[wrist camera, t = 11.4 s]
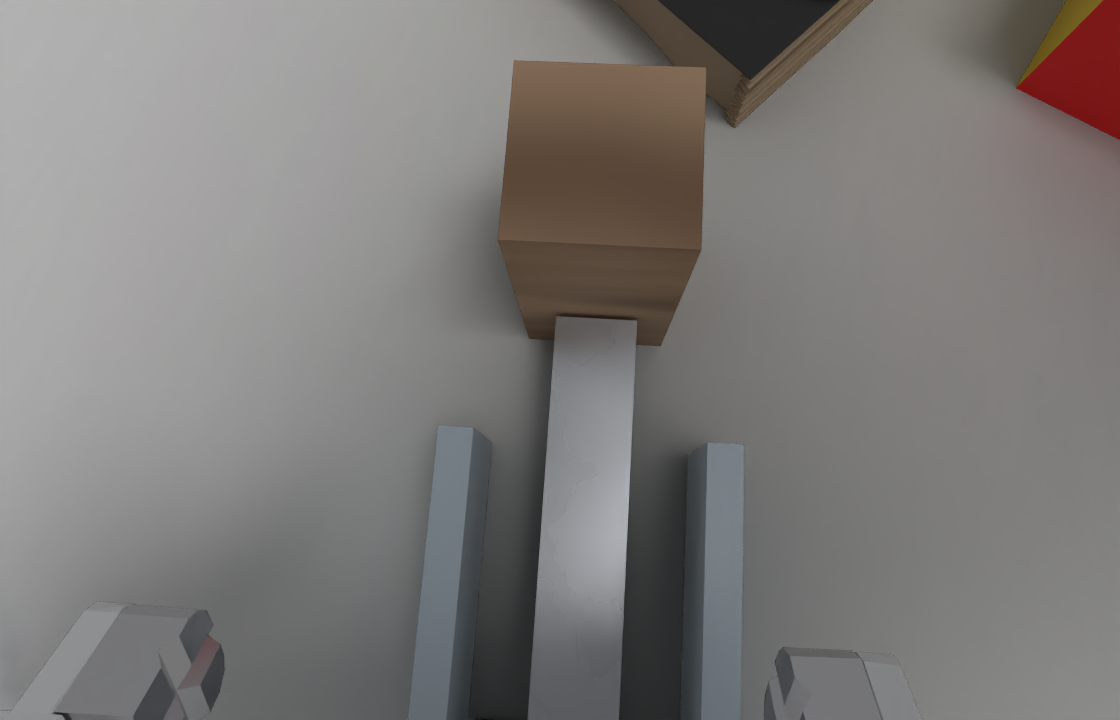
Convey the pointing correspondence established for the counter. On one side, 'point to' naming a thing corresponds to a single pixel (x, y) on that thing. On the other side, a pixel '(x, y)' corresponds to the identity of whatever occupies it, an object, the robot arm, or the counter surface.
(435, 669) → the channel
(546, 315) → the walnut block
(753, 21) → the black book
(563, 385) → the teal headed mallet
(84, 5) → the counter surface
